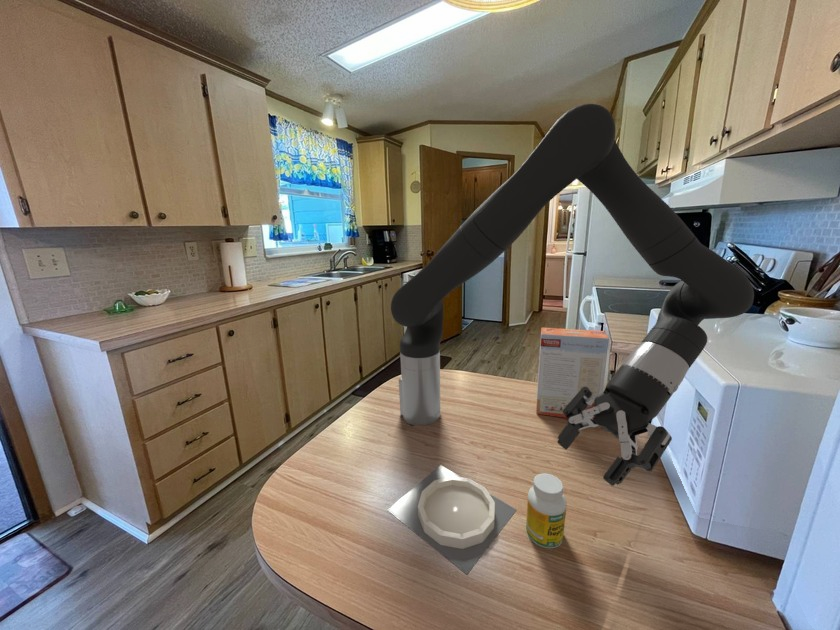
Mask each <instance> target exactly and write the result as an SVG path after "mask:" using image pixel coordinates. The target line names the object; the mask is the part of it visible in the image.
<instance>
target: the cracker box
mask: <svg viewBox="0 0 840 630" xmlns="http://www.w3.org/2000/svg"><path fill="white" fill-rule="evenodd" d="M609 342H610V339H609V336H608V335H607V334H606V332H605V331H603V330H592V329H591V330H589V329H571V328H557V327H556V328H555V327H543V326H542V327H541V328H540V342H539V359H538V374H537V390H536V410H535V411H536V412H535V413H536V415H537V414H538V415H542V414H543V415H544V416H549V415H550V416H551V417H556V416H557V417H558V418H564V419H567V417H566V416H565V415H564V414H563V410H564V409H565V407H566V406H567V405H568V404H569V403H570V402H571V400H572V399H573V398H574V397H575V396H576V395H577V393H578V392H579V391H580V390H581V389H582V388H583V387H588V388H589V390H590V391H591V392H593V393H594V394H596V395H597V396H598V395H600V394H602V393H603V392H604V382H605V374H606V366H607V359H608V349H609ZM593 407H594V403H592V405H588V406H587V407H586V408H585V410H587V409H590V408H593ZM543 415H542V416H543ZM592 418H594V417H592Z"/></svg>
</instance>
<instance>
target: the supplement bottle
mask: <svg viewBox="0 0 840 630" xmlns="http://www.w3.org/2000/svg"><path fill="white" fill-rule="evenodd" d="M566 515H567V498H566V496H565V495H564V484H563V482H562V481H561V480H560V479H559V478H558V477H557V476H555V475H553V474H550V473H538V474H537V475H535V477H534V478H533V483H532V486H531V487H530V488H529V490H528V493H527V502H526V520H525V521H526V523H525V531H526V534H527V536H528V538H529V539H530V540H531V541H532V542H533V543H535V545H538V546H540V547H542V548H546V549H554V548H557V547H559V546H561V544H562V542H563V540H564V533H565V522H566Z"/></svg>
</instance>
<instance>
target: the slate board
mask: <svg viewBox="0 0 840 630" xmlns="http://www.w3.org/2000/svg"><path fill="white" fill-rule="evenodd" d="M450 476H454V477H461V478H463V477H462V476H460V475H458V474H457V473H455V472H454V471H451V470H450V469H448V468H446V467H445V466H443V465H442V464H440V465H438V467H437V468H436V469H434V470H433V471H432V472H430V473H429V474H428V475H427V476H426V477H425V478H424V479H422V480H421V481H420V482H419V483H417V484H416V485H415V486H414V487H413V488H411V489H410V490H409V491H408V492H407V493H405V494H404V495H403V496H402V497H400V498H399V499H398V500H397V501H396V502H395V503H393V504H392V505H391V506H389V508H388V509H386V511H387V512H388V513H390V514H391V515H392V516H393V517H395V518H396V519H397V520H398V521H400V522H401V523H402V524H404V525H405V526H406V527H407V528H408V529H409V530H410V531H412V532H413V533H415V535H417V536H418V537H419V538H421V539H422V540H423V541H424V542H426V543H427V544H428V545H429V546H431V547H432V548H433V549H435V551H437V552H438V553H440V555H442V556H443V557H444V558H445V559H447V560H448V561H449V562H450V563H451V564H453V565H454V566H455V567H456V568H458V569H459V570H460V571H462V572H463V573H464V574H465V575H468V574H469V573H470V572H471V570H472V569H473V568H474V567H475V565H476V564H477V562H479V560H480V558H481V557H482V556H483V554H484V553H485V552H486V551H487V549H488V548H489V547H490V545H491V544H492V543H493V542H494V540H495V539H496V538H497V536H498V535H499V534H500V533H501V532H502V530H503V528H504V527H505V526H506V524H507V523H508V522H509V521H510V519H512V517H513V515H514V514H515V513H516V512H517V508H514V507H513V506H511V505H509V504H507V502H504V501H502V500H501V499H499V498H497V497H496V496H494V495H492V494H491V493H489V494H490V496H491V497H492V499H493V500H494V502H495V512H494V529H493V530H492V531H491V532H490V534H489V535H488V536H487V537H486V539H485V540H484V541H483V542H482V543H479V544H476V545H473V546H470V547H467V548H464V549H460V548H455V547H449V546H444V545H440V544H439V543H438V542H436V541H435V540H434V539H432V538H431V537H430V536H429V535H427V534H426V533H425V532H424V530H423V527H422V525H421V522H420V519H419V516H418V504H419V500H420V497H421V493H422V491H423V490H424V489H425V488H426V487H427V486H429V485H430V484H431V483H432V482H433V481H434V480H438V479H442V478H446V477H450Z"/></svg>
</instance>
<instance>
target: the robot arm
mask: <svg viewBox="0 0 840 630" xmlns="http://www.w3.org/2000/svg"><path fill="white" fill-rule="evenodd" d="M615 139H616V123H615V119H614V117H613V115H612V114H611V112H610V111H609V110H608V109H607V107H604V106H602V105H600V104H597V103H585V104H581V105H577V106H575V107H573V108H570V109H568V110H567V111H566V112H565V113H563V114H562V115H561V116H560V117H559V118H558V119H557V120H556V121H555V122H554V124H553V125H552V126H551V128H549V130H548V132H547V133H546V134H545V136H544V137H543V138H542V140H541V141H540V142H539V144H537V145H536V147H535V148H534V149H533V151H532V152H531V153H530V154H529V156H528V157H527V159H525V161H524V162H523V163H522V165H521V166H519V168H518V169H517V170H516V171H515V172H514V173H513V174H512V175H511V176H510V177H509V178H508V179H507V180H506V181H504V182H503V183H502V184H501V185H500V186H499V187H498V188H497V189H495V191H493V192H492V193H491V195H490V196H489V197H487V199H485V200H484V201H483V202H482V203H481V204H480V205H479V206H478V207H477V208H476V209H475V210H474V211H473V212H472V213H471V214H470V215H469V216H468V218H466V220H465V221H464V222H463V223H462V224H461V225H460V226H459V227H458V228H457V229H456V230H455V232H454V233H453V234H452V235H451V236H450V237H449V239H447V241H445V243H444V244H443V245H442V246H441V247H440V249H439V250H438V251H437V252H436V253H435V255H434V256H433V257H432V258H431V260H429V262H427V264H426V265H425V266H424V267H423V268H422V269H421V270H420V271H418V272H417V273H415V275H414V276H413V277H411V279H409V280H408V281H407V282H405V284H403V285H402V286H401V287H399V288H398V289H397V290H396V291H395V293H394V294H393V297H392V299H391V302H390V303H391V304H390V312H391V316H392V318H393V319H394V321H395V322H396V323H398V324H399V325H401V326H403V327H405V328H406V329H405V331H404V333H403V335H402V337H401V338H400V341H399V355H400V358H399V359H400V374H401V376H400V377H401V378H399V379H398V392H399V394H398V395H399V412H400V413H399V414H400V415H401V416H402V418H403V420H404V421H405V422H406V423H407V424H409V425H412V426H415V425H416V426H417V425H419V426H425V425H431V424H433V423H435V422H437V420H439V418H441V354H440V353H441V351H440V349H441V348H440V347H441V342H442V339H443V333H444V299H445V298H446V297H447V296H448V295H449V294H451V292H452V291H454V290H455V289H457V288H458V287H460V286H461V285H462V284H464V283H465V282H467V281H469V280H471V279H472V278H473V277H475V276H476V275H478V274H479V273H481V272H482V271H484V270H485V269H486V268H487V267H488V266H489V265H491V264H492V263H493V262H495V260H497V259H498V258H499V257H500V256H501V255H502V254H503V253H505V251H506V250H508V249H509V248H510V247H511V245H512V244H514V243H515V241H516V240H517V239H518V238H519V237H520V236H521V235H522V234H523V233H524V231H525V230H526V229H527V228H528V227H529V225H531V223H532V222H533V220H534V219H535V218H536V217H537V216H538V214H539V213H540V212H541V210H543V208H544V207H545V206H546V205H547V204H548V203H549V202H550V201H551V200H552V199H554V198H555V197H556V196H557V195H558V194H560V193H561V192H562V191H563V190H565V189H566V188H567V187H568V186H570V185H571V184H572V183H573V182H575V181H576V180H577V181H578V182H580V183H581V184H582V185H584V186H585V187H586V188H587V189H588V190H589V191H590V193H592V194H593V195H594V196H595V197H596V199H597V200H598V201H599V202H600V203H601V205H603V206H604V208H605V209H606V210H607V212H608V214H609V215H610V216H611V217H612V219H613V220H614V221H615V223H616V224H617V226H618V227H619V228H620V231H622V233H623V234H624V236H625V237H626V239H627V241H629V243H630V244H631V245H632V247H633V248H634V249H635V250H636V251H637V253H638V254H639V255H640V256H641V258H642V259H643V260H644V261H645V262H646V264H647V265H648V266H649V267H650V268H651V269H652V270H653V272H654V273H656V274H657V275H659V276H661V277H662V276H663V277H672V278H676V279H678V280H679V281H678V282H677V283H676V284H675V285H674V286H673V287H671V289H670V290H669V291H668V293H667V294H666V296H665V298H664V300H663V303H662V305H661V307H660V310H659V313H658V316H657V319H656V322H655V324H654V325H653V326H652V328H651V329H650V330H649V331H648V332H647V334H646V335H645V336H644V338H643V340H642V341H641V342H640V343H639V344H638V346H636V348H635V349H633V351H631V353H629V354H628V356H627V358H626V359H625V360H624V361H623V363H622V364H621V365H620V367H619V368H618V369H617V371H616V372H615V373H614V374H613V376H612V377H611V379H610V380H609V381H608V382H607V383H606V385H605V388H604V390H603V393H602V394H600V395H598V396H597V395H596V394H594V393H593V392H591V391H590V390H589V388H588V387H583V388H582V389H581V390H580V391H579V392H578V393H577V395H576V396H575V397H574V398H573V399H572V400H571V402H570V403H569V404H568V405H567V406H566V407H565V409H564V410H563V414H564V415H565V416H566V417H567V418H566V419H567V424H566V426H565V427H563V429H562V431H561V432H560V433H559V434H558V437H557V444H558V445H559V446H560V447H561V448H562V449H564V450H568V449H569V448H570V447H571V445H572V444H573V442H574V441H575V440H576V439H577V437H578V436H579V435H580V433H581V430H584V429H587V428H597V427H599V428H600V429H602V430H603V431H605V432H609V433H611V434H612V435H613V436H614V438H616V439H618V442H619V444H620V450H621V451H620V452H621V453H620V454H621V457H619V456H617V457H616V458H615V460H614V461H613V462H612V464H610V467H609V468H608V469H607V471H606V472H605V473H604V475H603V477H602V478H603V479H602V480H604V481H605V482H606V483H608V484H609V485H610V486H612V487H613V486H615V485H617V486H618V485H621V484H622V483H623V481H624V480H625V479H626V477H627V476H628V475H629V473H630V472H631V470H632V469H633V468H634V469H635V468H639V469H641V470H644V471H645V472H648V473H649V472H652V471H653V470H654V469H655V467H656V466H657V464H658V463H659V461H660V459H661V458H662V456H663V455H664V453H665V451H666V450H667V448H668V447H669V445H670V443H671V441H672V440H673V439H672V438H673V437H672V435H671V434H670V432H669V431H668V430H667V429H666V428H665V427H663V426H660V425H659V426H657V425H654V424H653V423H652V421H653V419H654V418H656V417H657V416H658V415H659V413H660V412H661V410H663V408H664V407H665V405H666V404H667V403H668V401H669V400H670V399H671V397H672V396H673V394H674V393H675V392H676V391H678V389H679V386H680V385H681V384H682V383H683V381H684V379H685V377H686V374H687V373H688V371H689V369H690V368H691V367H692V365H694V363H695V361H696V360H697V358H698V357H699V356H700V355H701V354H702V352H703V350H704V349H705V347H706V346H707V343H708V335H707V333H706V331H705V330H704V329H703V328H702V327H701V326H699V325H700V323H701V322H702V321H703V320H709V319H711V320H712V319H730V318H735V317H739V316H741V315H743V314H745V313H746V312H748V311H749V310H750V309H751V307H752V305H753V304H754V299H755V292H754V287H753V285H752V283H751V280H749V278H748V277H747V276H746V274H744V273H745V272H744V273H743V271H741V270H740V268H738V267H737V266H736V265H734V264H732V263H731V262H730V261H729V260H727V259H725V258H724V257H722V256H721V255H720V254H718V253H717V252H716V251H714V250H713V249H710V248H709V247H707V246H706V245H704V244H702V243H701V242H700V240H699V239H698V238H697V236H695V233H693V232H692V230H691V229H690V228H689V227H688V226H687V224H686V223H685V222H684V221H683V220H682V218H681V217H680V216H679V215H678V214H677V213H676V212H675V211H674V209H673V208H671V207H670V206H669V204H667V202H665V201H664V200H663V199H662V198H661V197H660V196H659V195H658V194H657V193H656V192H655V191H653V189H652V188H651V187H649V185H647V183H646V182H644V180H642V178H641V177H640V176H638V174H637V173H636V171H634V169H633V168H632V167H631V166H630V164H629V162H628V161H627V159H626V158H625V156H624V154H623V152H622V151H621V149H620V148H619V145H618V144H617V141H616V140H615ZM592 403H594V407H593V408H590V409H587V410H585V408H586V407H587V406H588V405H592ZM592 417H594V418H592ZM646 433H647V438H648V440H647V441H646V443H645V445H644V446H643V447H642V449H641V451H640V452H639V454H638V452H637V451H638V448H639V447H638V441H637V440H638V438H637V436H639V435H642V434H646Z"/></svg>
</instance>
